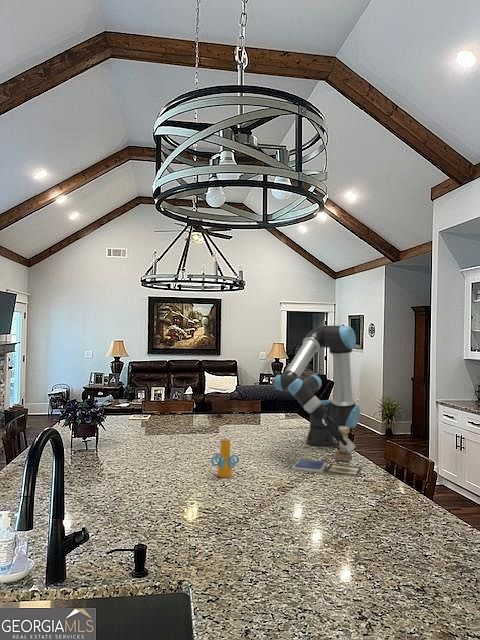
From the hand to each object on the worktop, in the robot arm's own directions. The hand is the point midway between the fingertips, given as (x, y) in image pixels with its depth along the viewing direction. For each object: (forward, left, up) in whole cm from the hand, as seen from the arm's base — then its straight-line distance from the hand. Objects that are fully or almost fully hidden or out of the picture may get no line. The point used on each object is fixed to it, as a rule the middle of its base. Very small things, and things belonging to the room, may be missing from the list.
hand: (352, 449), depth 234 cm
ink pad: (0, -19, -10) cm, 21 cm away
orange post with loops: (+28, -49, -10) cm, 57 cm away
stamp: (0, -4, -5) cm, 7 cm away
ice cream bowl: (-106, -104, -10) cm, 149 cm away
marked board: (0, -4, -10) cm, 11 cm away
